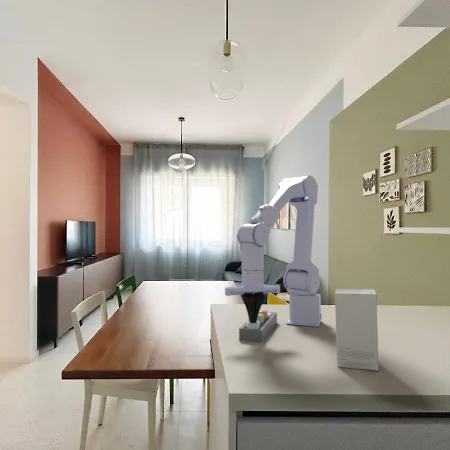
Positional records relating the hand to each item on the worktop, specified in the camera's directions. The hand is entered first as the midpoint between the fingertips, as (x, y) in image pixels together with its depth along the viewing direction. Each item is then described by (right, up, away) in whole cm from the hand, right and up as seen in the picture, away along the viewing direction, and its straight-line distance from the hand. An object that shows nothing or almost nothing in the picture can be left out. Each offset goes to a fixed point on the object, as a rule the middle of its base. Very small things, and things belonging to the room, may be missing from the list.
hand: (252, 322), depth 93 cm
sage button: (+2, -2, +5) cm, 5 cm away
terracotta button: (+3, -2, +9) cm, 10 cm away
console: (+2, -4, +7) cm, 9 cm away
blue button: (0, -3, 0) cm, 3 cm away
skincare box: (+20, -4, -17) cm, 27 cm away
